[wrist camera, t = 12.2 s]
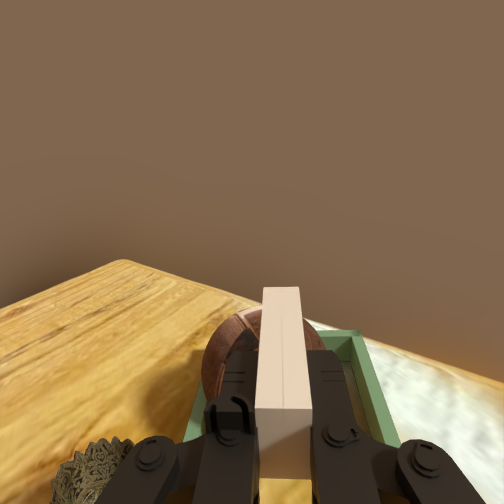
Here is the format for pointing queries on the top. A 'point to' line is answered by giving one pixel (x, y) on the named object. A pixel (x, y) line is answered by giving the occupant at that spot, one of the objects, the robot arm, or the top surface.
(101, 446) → the cup
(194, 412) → the green bracket
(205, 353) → the wooden sphere
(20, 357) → the top surface
